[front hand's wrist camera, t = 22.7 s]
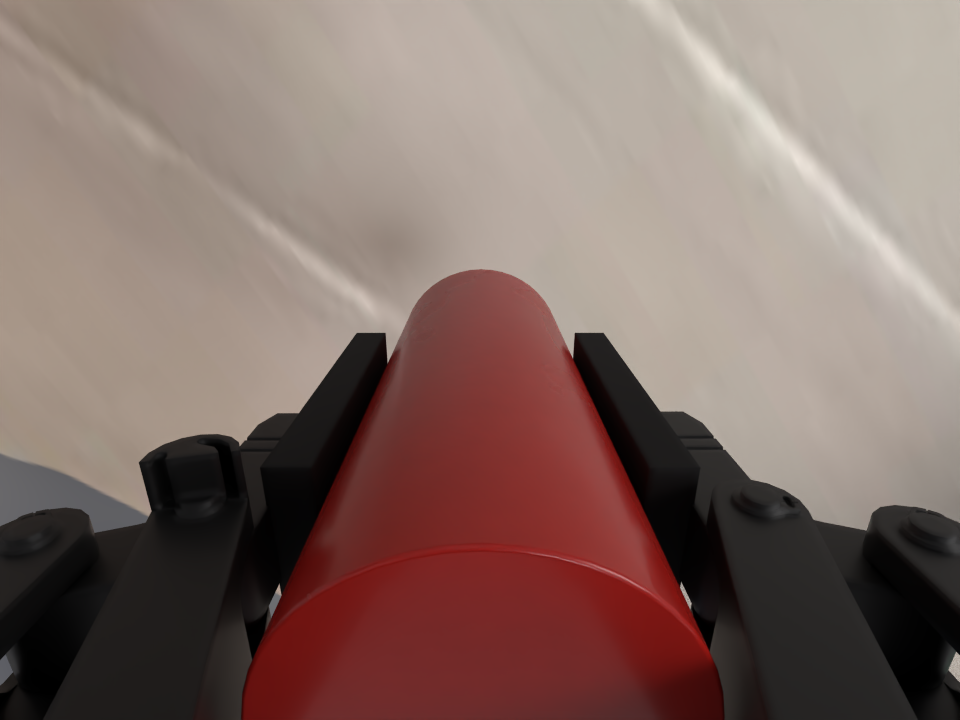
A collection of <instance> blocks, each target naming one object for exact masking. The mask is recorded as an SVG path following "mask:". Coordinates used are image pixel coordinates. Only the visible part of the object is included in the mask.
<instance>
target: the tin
mask: <svg viewBox="0 0 960 720" xmlns="http://www.w3.org/2000/svg"><path fill="white" fill-rule="evenodd" d="M241 720H725V712H724V693H723V688H722V684H721V680H720V676H719V672H718V669H717V667H716V664H715V662H714V660H713V658H712V656H711V654H710V651H709V649H708V647H707V645H706V643H705V641H704V638H703V636H702V634H701V632H700V630H699V628H698V626H697V623H696V621H695V619H694V617H693V615H692V613H691V611H690V609H689V606H688V604H687V602H686V600H685V598H684V596H683V594H682V591H681V589H680V587H679V585H678V583H677V581H676V579H675V576H674V574H673V572H672V570H671V568H670V566H669V564H668V561H667V559H666V557H665V555H664V553H663V551H662V549H661V546H660V544H659V542H658V540H657V538H656V536H655V534H654V531H653V529H652V527H651V525H650V523H649V521H648V519H647V517H646V514H645V512H644V510H643V508H642V506H641V504H640V502H639V499H638V497H637V495H636V493H635V491H634V489H633V487H632V484H631V482H630V480H629V478H628V476H627V474H626V472H625V469H624V467H623V465H622V463H621V461H620V459H619V457H618V454H617V452H616V450H615V448H614V446H613V444H612V442H611V439H610V437H609V435H608V433H607V431H606V429H605V427H604V424H603V422H602V420H601V418H600V416H599V414H598V412H597V410H596V407H595V405H594V403H593V401H592V399H591V397H590V395H589V392H588V390H587V388H586V386H585V384H584V382H583V380H582V377H581V375H580V373H579V371H578V369H577V367H576V365H575V362H574V360H573V358H572V356H571V354H570V352H569V350H568V347H567V345H566V343H565V341H564V339H563V337H562V335H561V332H560V330H559V328H558V326H557V324H556V322H555V320H554V318H553V315H552V313H551V311H550V309H549V307H548V306H547V304H546V303H545V301H544V300H543V299H542V297H541V296H540V295H539V294H538V293H537V292H536V291H535V290H534V289H533V288H532V287H531V286H529V285H528V284H526V283H525V282H523V281H522V280H520V279H518V278H516V277H514V276H512V275H509V274H506V273H503V272H499V271H494V270H482V269H480V270H469V271H464V272H459V273H456V274H454V275H451V276H448V277H446V278H444V279H442V280H441V281H439V282H438V283H436V284H435V285H433V286H432V287H431V288H430V289H428V290H427V291H426V292H425V293H424V294H423V295H422V297H421V298H420V299H419V300H418V302H417V303H416V305H415V306H414V308H413V310H412V312H411V314H410V316H409V318H408V321H407V323H406V325H405V327H404V329H403V332H402V334H401V336H400V338H399V340H398V342H397V345H396V347H395V349H394V351H393V353H392V356H391V358H390V360H389V362H388V364H387V367H386V369H385V371H384V373H383V375H382V377H381V380H380V382H379V384H378V386H377V388H376V391H375V393H374V395H373V397H372V399H371V401H370V404H369V406H368V408H367V410H366V412H365V415H364V417H363V419H362V421H361V423H360V426H359V428H358V430H357V432H356V434H355V436H354V439H353V441H352V443H351V445H350V447H349V450H348V452H347V454H346V456H345V458H344V461H343V463H342V465H341V467H340V469H339V471H338V474H337V476H336V478H335V480H334V482H333V485H332V487H331V489H330V491H329V493H328V495H327V498H326V500H325V502H324V504H323V506H322V509H321V511H320V513H319V515H318V517H317V520H316V522H315V524H314V526H313V528H312V530H311V533H310V535H309V537H308V539H307V541H306V544H305V546H304V548H303V550H302V552H301V554H300V557H299V559H298V561H297V563H296V565H295V568H294V570H293V572H292V574H291V576H290V579H289V581H288V583H287V585H286V587H285V589H284V592H283V594H282V596H281V598H280V600H279V603H278V605H277V607H276V609H275V611H274V614H273V616H272V618H271V620H270V622H269V624H268V627H267V629H266V631H265V633H264V635H263V638H262V640H261V642H260V644H259V646H258V648H257V651H256V653H255V655H254V657H253V659H252V662H251V664H250V666H249V668H248V671H247V675H246V679H245V683H244V687H243V691H242V705H241Z"/></svg>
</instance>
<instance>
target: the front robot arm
mask: <svg viewBox="0 0 960 720" xmlns="http://www.w3.org/2000/svg"><path fill="white" fill-rule="evenodd" d="M573 360H574V362H575V365H576V367H577V369H578V371H579V373H580V375H581V377H582V380H583V382H584V384H585V386H586V388H587V390H588V392H589V395H590V397H591V399H592V401H593V403H594V405H595V407H596V410H597V412H598V414H599V416H600V418H601V420H602V422H603V424H604V427H605V429H606V431H607V433H608V435H609V437H610V439H611V442H612V444H613V446H614V448H615V450H616V452H617V454H618V457H619V459H620V461H621V463H622V465H623V467H624V469H625V472H626V474H627V476H628V478H629V480H630V482H631V484H632V487H633V489H634V491H635V493H636V495H637V497H638V499H639V502H640V504H641V506H642V508H643V510H644V512H645V514H646V517H647V519H648V521H649V523H650V525H651V527H652V529H653V531H654V534H655V536H656V538H657V540H658V542H659V544H660V546H661V549H662V551H663V553H664V555H665V557H666V559H667V561H668V564H669V566H670V568H671V570H672V572H673V574H674V576H675V579H676V581H677V583H678V585H679V587H680V585H681V582H682V584H683V586H684V588H685V590H686V592H687V594H688V596H689V599H690V601H691V603H692V604H691V610H690V611H691V613H692V615H693V617H694V619H695V621H696V623H697V626H698V628H699V630H700V632H701V634H702V636H703V638H704V641H705V643H706V645H707V647H708V649H709V651H710V654H711V656H712V658H713V660H714V662H715V664H716V667H717V669H718V672H719V676H720V680H721V684H722V688H723V693H724V712H725V720H960V682H959V681H958V680H957V679H956V678H955V677H954V676H953V675H952V674H951V673H950V672H949V670H948V669H949V667H950V665H951V662H952V660H953V658H954V655H955V653H956V652H957V653H958V654H959V655H960V523H958V522H956V521H954V520H951V519H949V518H947V517H944V516H943V515H942V514H940V513H937V512H934V511H930V510H928V511H926V509H923V508H918V507H907V506H898V505H893V506H885V507H880V508H879V509H877V510H876V511H875V512H873V513H872V516H871V519H870V522H869V525H868V529H867V531H865V530H860V529H855V528H850V527H845V526H839V525H834V524H829V523H824V522H820V521H816V520H813V519H812V517H811V515H810V513H809V511H808V510H807V508H806V507H805V506H804V505H803V504H802V503H801V501H800V500H799V499H797V498H795V497H794V496H792V495H791V494H789V493H788V492H786V491H785V490H782V489H780V488H777V487H775V486H772V485H770V484H767V483H763V482H758V481H754V480H751V479H750V478H749V477H748V476H747V475H746V474H745V472H744V471H743V470H742V469H741V468H740V467H739V465H738V464H737V463H736V462H735V461H734V460H733V458H732V457H731V456H730V455H729V454H728V452H727V451H726V450H723V447H722V445H721V444H720V443H719V442H718V441H717V440H716V439H714V438H713V435H712V434H711V432H710V431H709V430H708V429H707V428H706V427H705V425H704V424H703V423H702V422H700V421H698V420H696V419H695V418H693V417H691V416H690V415H688V414H686V413H684V412H660V411H659V409H658V408H657V406H656V405H655V404H654V402H653V401H652V400H651V398H650V397H649V395H648V394H647V393H646V391H645V390H644V388H643V387H642V386H641V384H640V383H639V381H638V380H637V379H636V377H635V376H634V375H633V373H632V372H631V370H630V369H629V368H628V366H627V365H626V363H625V362H624V361H623V359H622V358H621V357H620V355H619V354H618V352H617V351H616V350H615V348H614V347H613V345H612V344H611V343H610V341H609V340H608V339H607V337H606V336H605V334H604V333H575V339H574V354H573ZM386 367H387V349H386V334H385V333H356V335H355V336H354V338H353V339H352V340H351V342H350V343H349V345H348V346H347V347H346V349H345V350H344V352H343V353H342V354H341V356H340V357H339V358H338V360H337V361H336V363H335V364H334V365H333V367H332V368H331V370H330V371H329V372H328V374H327V375H326V376H325V378H324V379H323V381H322V382H321V383H320V385H319V386H318V388H317V389H316V390H315V392H314V393H313V395H312V396H311V397H310V399H309V400H308V401H307V403H306V404H305V406H304V407H303V408H302V410H301V411H300V413H277V414H276V415H274V416H272V417H271V418H269V419H267V420H266V421H264V422H262V423H260V424H259V425H258V426H257V427H256V428H255V429H254V430H253V432H252V433H251V434H250V435H249V436H248V438H247V441H244V442H243V443H242V445H241V446H239V442H238V441H236V440H235V439H233V438H232V437H229V436H224V435H219V434H208V435H197V436H191V437H186V438H181V439H178V440H176V441H173V442H170V443H167V444H164V445H162V446H160V447H158V448H157V449H155V450H153V451H151V452H149V453H148V454H147V455H146V456H145V457H144V458H143V459H142V460H141V461H140V462H139V465H140V468H141V472H142V476H143V480H144V484H145V487H146V491H147V495H148V499H149V503H150V506H151V510H152V512H151V514H150V516H149V518H148V519H147V521H146V523H142V524H139V525H134V526H129V527H123V528H118V529H113V530H108V531H102V532H97V533H94V530H93V527H92V524H91V521H90V518H89V515H87V514H86V513H85V512H83V511H82V510H80V509H73V508H59V509H50V510H49V509H47V510H41V511H36V513H29V514H26V515H23V516H21V517H19V518H18V519H16V520H14V521H11V522H9V523H7V524H5V525H2V526H0V659H1V658H2V657H3V656H4V655H5V654H6V656H7V659H8V661H9V663H10V666H11V668H12V670H13V673H12V674H11V675H10V676H9V677H8V679H7V680H6V681H5V682H4V683H3V684H2V685H0V720H241V705H242V691H243V687H244V683H245V679H246V675H247V671H248V668H249V666H250V664H251V662H252V659H253V657H254V655H255V653H256V651H257V648H258V646H259V644H260V642H261V640H262V638H263V635H264V633H265V631H266V629H267V627H268V624H269V622H270V620H271V615H270V610H269V604H270V602H271V600H272V598H273V596H274V594H275V592H276V590H277V587H278V585H279V583H280V589H281V594H283V592H284V589H285V587H286V585H287V583H288V581H289V579H290V576H291V574H292V572H293V570H294V568H295V565H296V563H297V561H298V559H299V557H300V554H301V552H302V550H303V548H304V546H305V544H306V541H307V539H308V537H309V535H310V533H311V530H312V528H313V526H314V524H315V522H316V520H317V517H318V515H319V513H320V511H321V509H322V506H323V504H324V502H325V500H326V498H327V495H328V493H329V491H330V489H331V487H332V485H333V482H334V480H335V478H336V476H337V474H338V471H339V469H340V467H341V465H342V463H343V461H344V458H345V456H346V454H347V452H348V450H349V447H350V445H351V443H352V441H353V439H354V436H355V434H356V432H357V430H358V428H359V426H360V423H361V421H362V419H363V417H364V415H365V412H366V410H367V408H368V406H369V404H370V401H371V399H372V397H373V395H374V393H375V391H376V388H377V386H378V384H379V382H380V380H381V377H382V375H383V373H384V371H385V369H386Z"/></svg>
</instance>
